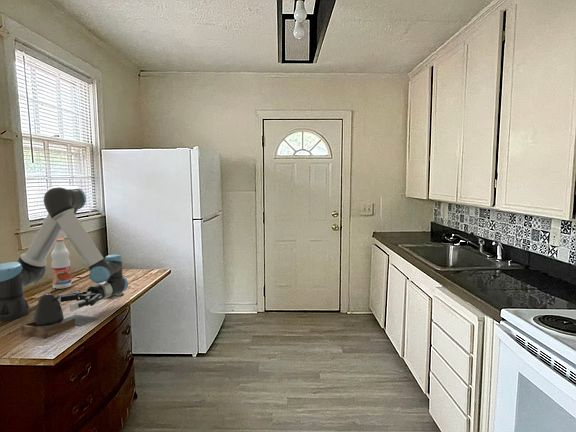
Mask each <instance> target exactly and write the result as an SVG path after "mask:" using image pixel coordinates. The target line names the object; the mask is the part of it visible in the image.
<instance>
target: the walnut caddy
mask: <svg viewBox="0 0 576 432" xmlns="http://www.w3.org/2000/svg"><path fill="white" fill-rule="evenodd" d="M20 326H21V335H26V336H31V337H36V338H42V339H49V338H51V337H53V336H56V335H58V334H61V333H64V332H65V331H69V330H70V329H73V328H75V327H76V325H75V318H73V319H70V320H67V321H65V322H62V323H60V324H57V325H55V326H52V327H50V328H47V329H45V328H39V327H36V325H35V324H34V320H32V321H30V322H27V323H24V324H21V325H20Z"/></svg>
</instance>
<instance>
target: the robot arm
mask: <svg viewBox="0 0 576 432" xmlns="http://www.w3.org/2000/svg"><path fill="white" fill-rule="evenodd" d="M86 203H87V196H86V193H85V192H84V190H83V189H82V188H80V187H78V186H76V185H75V186H74V185H58V186H57V185H56V186H52V187H50V188H49V189H47V191H45V193H44V196H43V205H44V207H45V209H46V211H47V216H46V218H44V221H43V223H42V224H41V226H40V227H39V230H38V232H37V233H36V235H35V237H34V239H33V240H32V242H31V244H30V246H29V247H28V249H27V251H26V252H24V253H21V255H20V256H19V257H18V259H17V261H9V262H5V263H4V262H3V263H0V322H5V321H6V320H7V321H12V320H16V319H20V318H23V317H25V316H27V315H29V314H30V306H29V303H28V302H27V300H26V298H25V294H24V293H25V292H24V288H25V287H28V286H30V285H33V284H35V283H37V282H39V281H41V280H42V279H43V278H44V276H45V275H46V272H47V267H46V266H47V264H48V262H47V258H48V256H49V254H50V252H52V251H51V250H52V249H53V248H54V246H55V242H56V240H57V239H59V237H60V234H61V233H62V232H64V234H65V236H66V237H67V239H68V240H69V242H70V243H71V245H72V246H73V247H74V248H75V250H76V251H77V253H78V254H79V256H80V258H81V259H82V261H83V262H84V264H85V266H87V268H88V270H89V279H90V280H91V281H92V282H93V283H95V284H93V285H91V286H89V287H88V288H87V290H83V291H81V290H78V291H74V292H69V293H63V294H59V295H56V297H57V296H59V299H58V301H59V303H60V304H62V303H63V302H64V303H65V302H72V301H76V302H74V303H71V304H69V310H70V312H73V311H76V310H79V309H80V308H84V307H88V306H90V307H92V306H93V307H94V305H96V303H98V302H99V301H102V300H106V299H107V298H109V297H112V296H116V295H115V294H119V293H121V292H123V293H124V292H125V291H126V290H127V289H128V287H129V282H128V279H127V278H126V277H125V276H124V275H123V257H122V255H121V254H108V255H106V256H105V257H104V256H103V255H102V254H101V251H99V249H98V248H97V246H96V245H95V243H94V241H93V240H92V238H91V237H90V235H89V234H88V232H87V230H86V229H85V227H84V226H83V225H82V223H81V222H80V220H79V218H78V217H77V216H76V213H77V212H78V210H81V209H82V208H83V207H84V206H85V205H86ZM7 321H6V322H7Z"/></svg>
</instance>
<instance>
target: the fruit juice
mask: <svg viewBox="0 0 576 432" xmlns="http://www.w3.org/2000/svg"><path fill="white" fill-rule="evenodd" d="M65 241H66V240H65V238H57V240H56V242H55V243H54V246H53V248H52V249H53V250H52V251H51V254H50V257H51V260H52V261H51V264H50V265H51V279H52V280H51V281H52V288H53V289H55V288H56V289H58V290H60V289H61V290H62V289H65V288H70V287H72V283H73V282H72V268H71V260H70V254H71V253H70V251H69V250H68V248H67V247H66V244H65Z"/></svg>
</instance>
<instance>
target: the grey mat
mask: <svg viewBox="0 0 576 432" xmlns="http://www.w3.org/2000/svg"><path fill="white" fill-rule="evenodd" d="M73 318H75V327H76V326H77V327H83V326H84V325H86V324H89V323H92V322H93V321H96V320H98V317H97V316H96V317H94V316H89V315H81V314H73V315H70V316H68V317H65V318H64V319H63V322H65V321H67V320H70V319H73Z"/></svg>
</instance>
